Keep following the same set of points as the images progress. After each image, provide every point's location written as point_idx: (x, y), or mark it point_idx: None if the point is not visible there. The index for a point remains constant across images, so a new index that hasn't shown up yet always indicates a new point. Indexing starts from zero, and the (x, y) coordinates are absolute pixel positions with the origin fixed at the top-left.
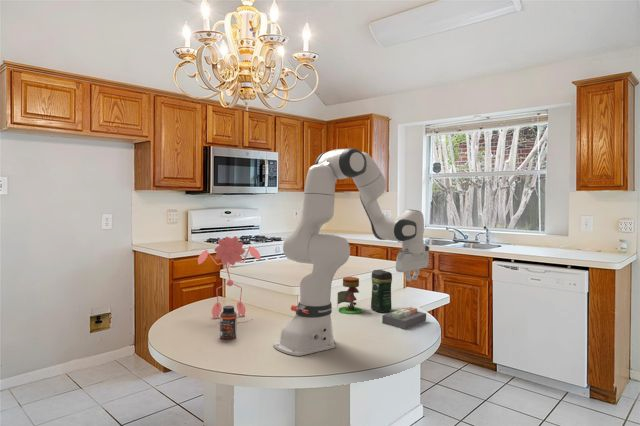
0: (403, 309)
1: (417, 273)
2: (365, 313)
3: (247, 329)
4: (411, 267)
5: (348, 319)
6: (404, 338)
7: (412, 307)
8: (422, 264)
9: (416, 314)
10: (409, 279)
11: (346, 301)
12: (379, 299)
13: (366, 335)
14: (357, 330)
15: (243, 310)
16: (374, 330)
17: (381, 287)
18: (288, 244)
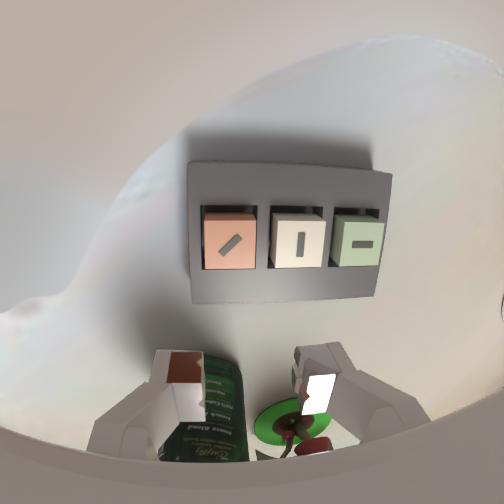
0: (285, 261)
1: (149, 406)
2: (285, 387)
3: (494, 390)
4: (463, 456)
5: (379, 369)
6: (445, 126)
7: (206, 251)
8: (4, 492)
9: (250, 191)
10: (343, 356)
11: (271, 458)
12: (244, 410)
13: (475, 234)
14: (454, 281)
15: None
16: (436, 247)
17: (242, 454)
18: None
